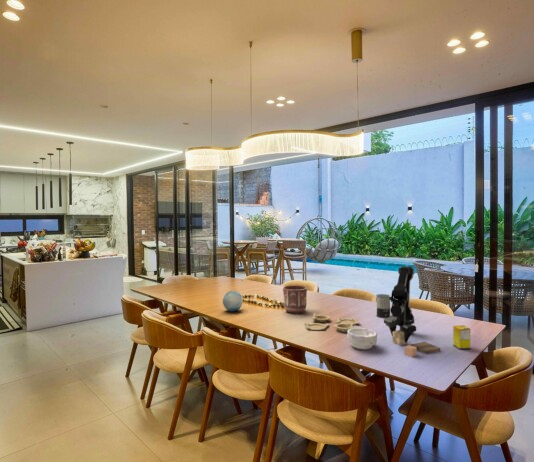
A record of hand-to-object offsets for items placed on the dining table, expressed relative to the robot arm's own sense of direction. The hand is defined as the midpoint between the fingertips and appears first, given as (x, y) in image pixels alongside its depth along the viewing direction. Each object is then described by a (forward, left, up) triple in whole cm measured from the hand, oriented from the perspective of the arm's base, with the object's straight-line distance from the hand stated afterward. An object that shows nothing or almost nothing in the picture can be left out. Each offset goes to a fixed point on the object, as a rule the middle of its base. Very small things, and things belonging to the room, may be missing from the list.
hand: (399, 339), depth 186 cm
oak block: (0, 0, -2) cm, 2 cm away
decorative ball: (-101, -65, -2) cm, 120 cm away
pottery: (-81, -23, -2) cm, 84 cm away
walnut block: (+12, +6, -2) cm, 14 cm away
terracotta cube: (+15, -7, -2) cm, 17 cm away
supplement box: (+18, +25, -2) cm, 31 cm away
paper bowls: (-4, -22, -2) cm, 22 cm away
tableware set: (-42, -16, -2) cm, 45 cm away
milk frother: (-48, +30, -2) cm, 57 cm away
